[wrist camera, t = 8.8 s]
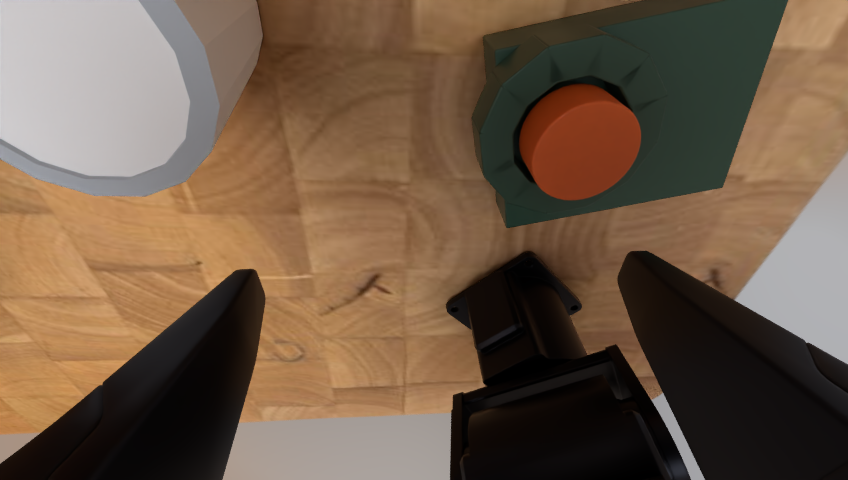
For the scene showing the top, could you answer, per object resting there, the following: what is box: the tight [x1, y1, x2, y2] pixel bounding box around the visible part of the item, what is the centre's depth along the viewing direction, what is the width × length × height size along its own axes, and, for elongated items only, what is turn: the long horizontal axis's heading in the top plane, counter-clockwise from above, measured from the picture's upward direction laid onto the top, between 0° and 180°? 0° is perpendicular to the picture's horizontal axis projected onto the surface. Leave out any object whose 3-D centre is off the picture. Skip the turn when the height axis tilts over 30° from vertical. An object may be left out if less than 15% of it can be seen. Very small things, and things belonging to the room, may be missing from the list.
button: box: [519, 84, 641, 200], centre depth 14 cm, size 4×4×2 cm
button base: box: [472, 0, 788, 228], centre depth 16 cm, size 11×8×4 cm
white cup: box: [0, 0, 263, 196], centre depth 12 cm, size 7×7×7 cm
